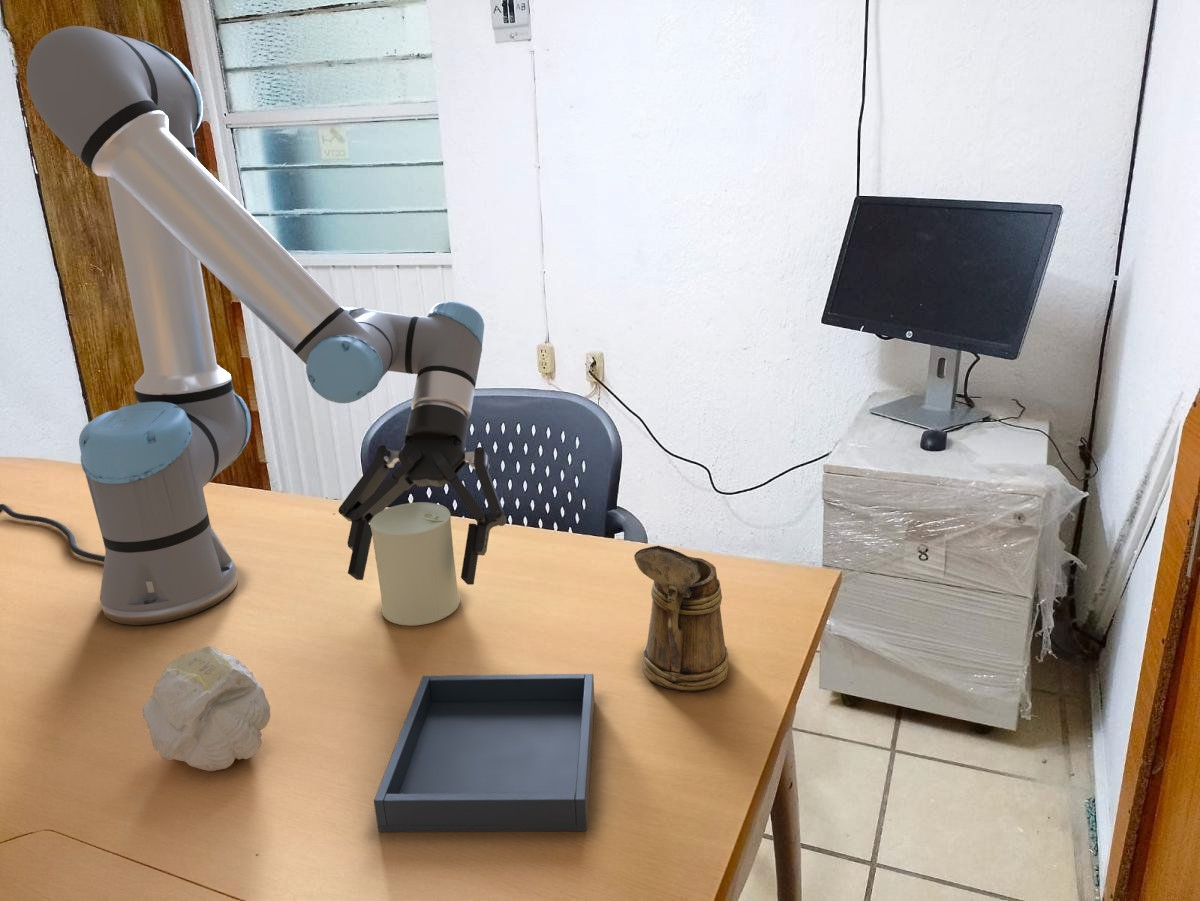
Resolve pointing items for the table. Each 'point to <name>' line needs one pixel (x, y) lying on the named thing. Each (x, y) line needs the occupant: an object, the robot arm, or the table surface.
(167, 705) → the fossil replica
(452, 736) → the tray
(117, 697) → the table surface
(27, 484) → the table surface
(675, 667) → the wooden mug
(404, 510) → the can
